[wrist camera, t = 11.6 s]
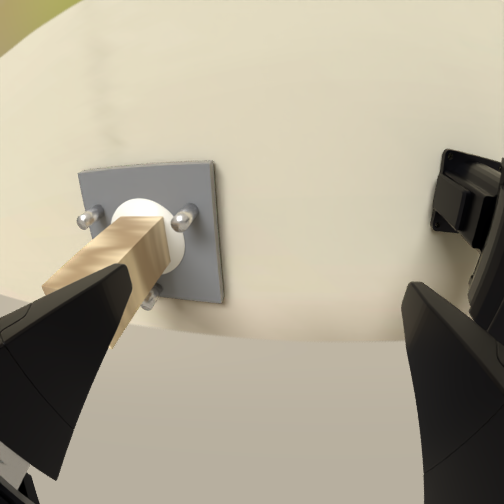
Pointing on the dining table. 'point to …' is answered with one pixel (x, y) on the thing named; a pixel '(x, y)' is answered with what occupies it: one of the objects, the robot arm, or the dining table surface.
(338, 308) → the dining table surface
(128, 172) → the plate
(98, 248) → the maple block
